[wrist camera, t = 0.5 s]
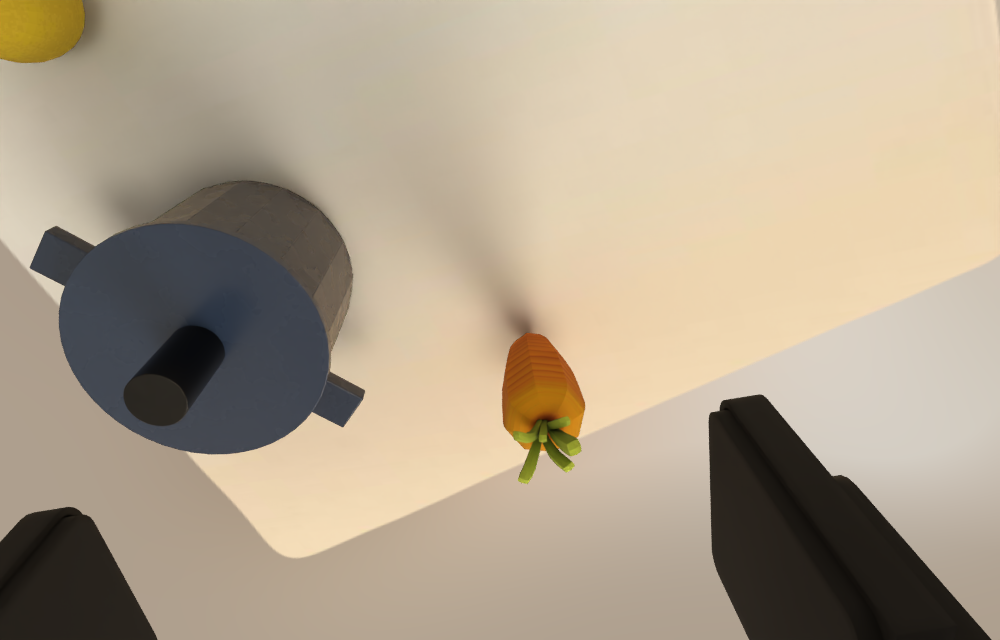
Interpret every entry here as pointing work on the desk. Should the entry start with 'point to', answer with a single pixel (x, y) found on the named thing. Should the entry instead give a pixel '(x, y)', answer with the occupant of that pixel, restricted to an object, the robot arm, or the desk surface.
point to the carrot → (541, 403)
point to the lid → (195, 337)
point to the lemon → (39, 29)
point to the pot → (274, 225)
